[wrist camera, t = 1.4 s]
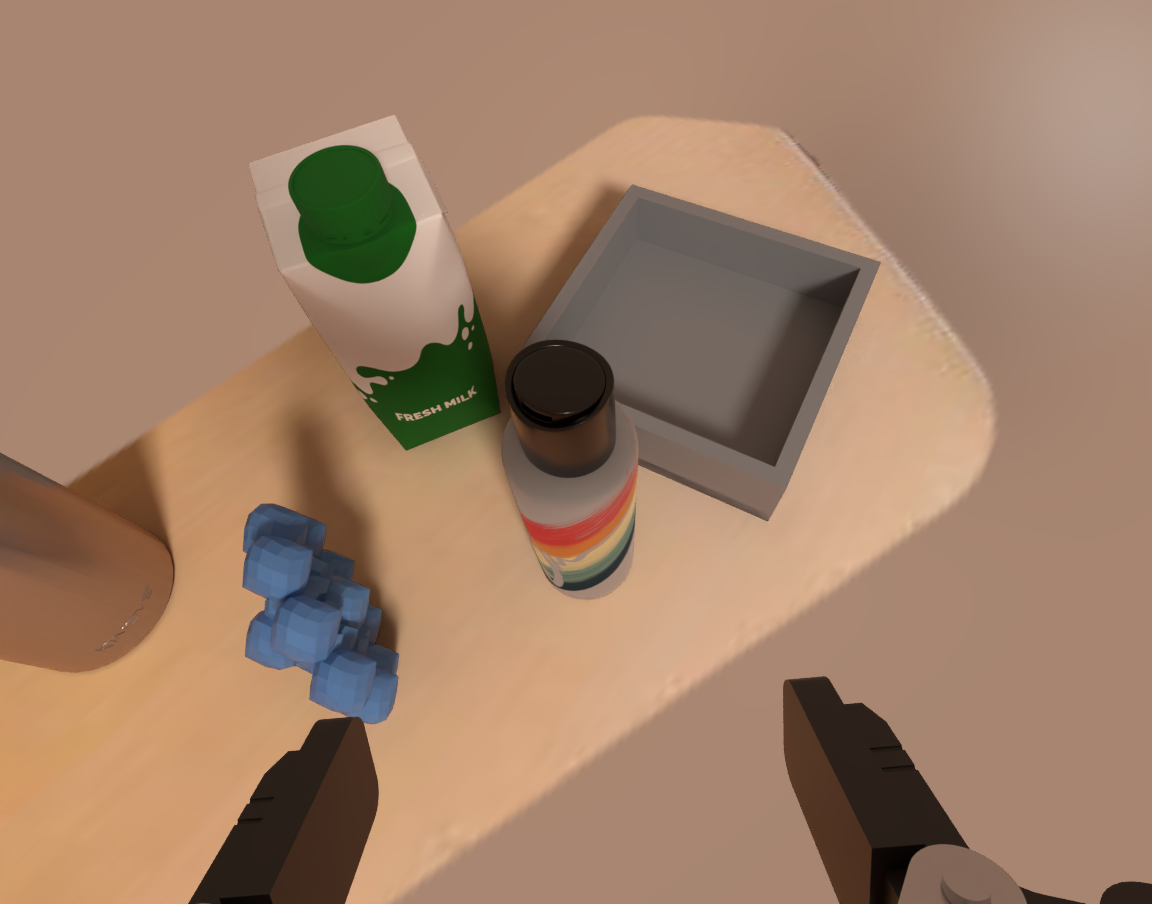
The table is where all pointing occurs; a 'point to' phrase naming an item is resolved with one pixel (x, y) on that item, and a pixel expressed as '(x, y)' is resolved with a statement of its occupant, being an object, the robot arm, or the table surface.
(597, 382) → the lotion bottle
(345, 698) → the grapes
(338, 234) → the milk carton
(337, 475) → the table surface
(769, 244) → the bin
